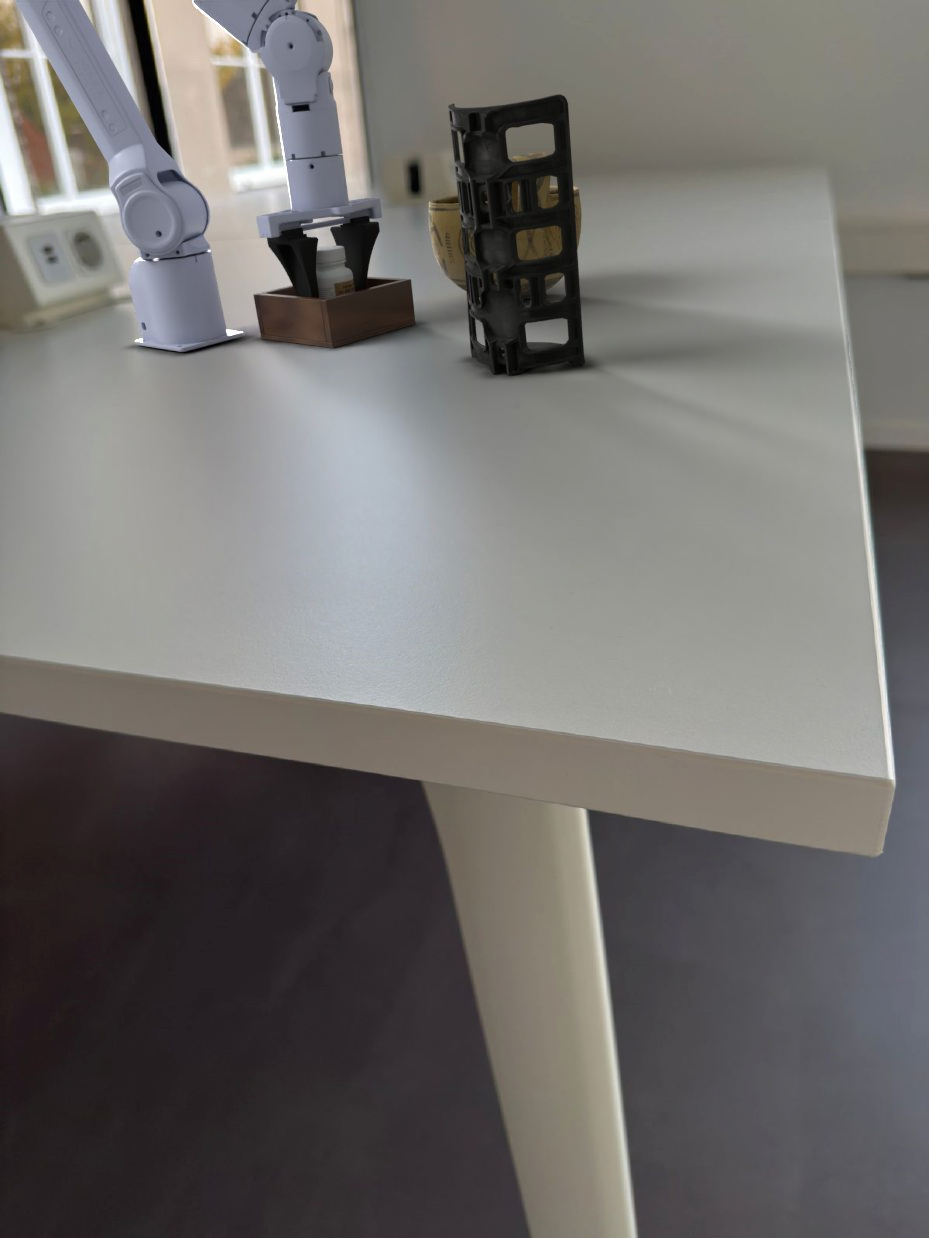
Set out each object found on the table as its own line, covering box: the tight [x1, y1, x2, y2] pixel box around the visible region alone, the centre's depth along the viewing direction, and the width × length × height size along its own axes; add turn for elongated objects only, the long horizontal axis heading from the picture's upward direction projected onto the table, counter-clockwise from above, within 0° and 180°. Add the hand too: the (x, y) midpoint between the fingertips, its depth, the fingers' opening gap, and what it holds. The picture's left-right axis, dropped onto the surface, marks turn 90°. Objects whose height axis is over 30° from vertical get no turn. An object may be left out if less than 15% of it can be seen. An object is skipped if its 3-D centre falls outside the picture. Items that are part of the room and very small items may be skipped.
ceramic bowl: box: [428, 151, 582, 300], centre depth 105 cm, size 22×17×15 cm
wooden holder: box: [253, 276, 417, 349], centre depth 98 cm, size 12×12×4 cm
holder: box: [447, 93, 586, 376], centre depth 74 cm, size 11×8×20 cm
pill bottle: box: [316, 245, 355, 299], centre depth 97 cm, size 4×4×8 cm
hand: (334, 302), depth 98 cm, fingers open, 6 cm apart
